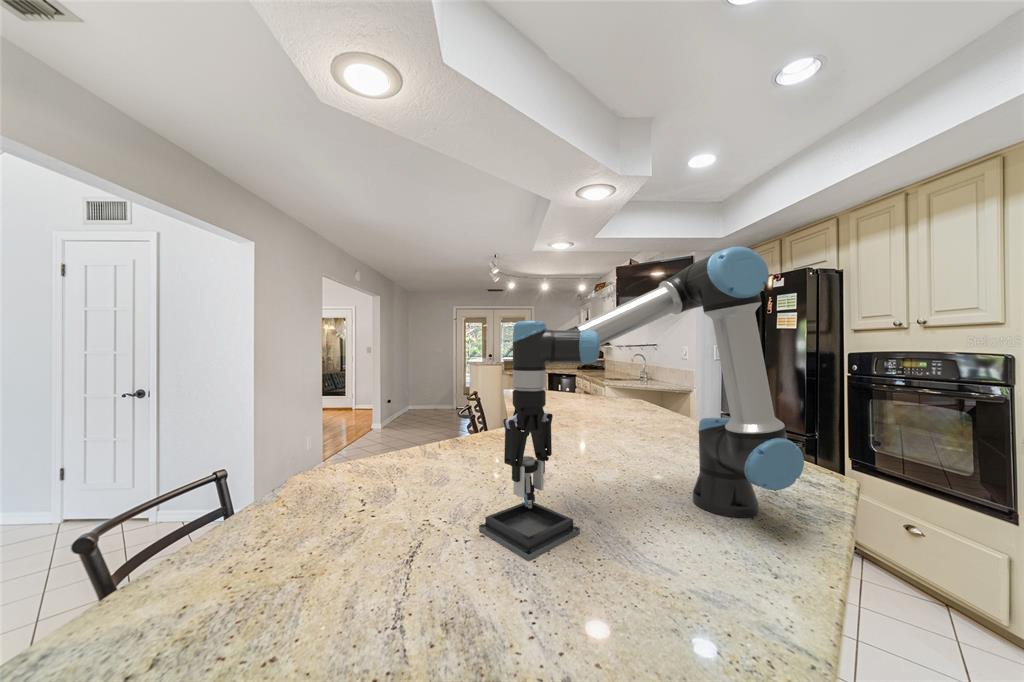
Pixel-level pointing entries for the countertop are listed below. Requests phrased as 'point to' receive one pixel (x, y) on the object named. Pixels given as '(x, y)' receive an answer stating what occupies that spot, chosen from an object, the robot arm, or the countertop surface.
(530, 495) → the push button
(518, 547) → the grey metal square tray
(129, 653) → the countertop surface
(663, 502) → the countertop surface
